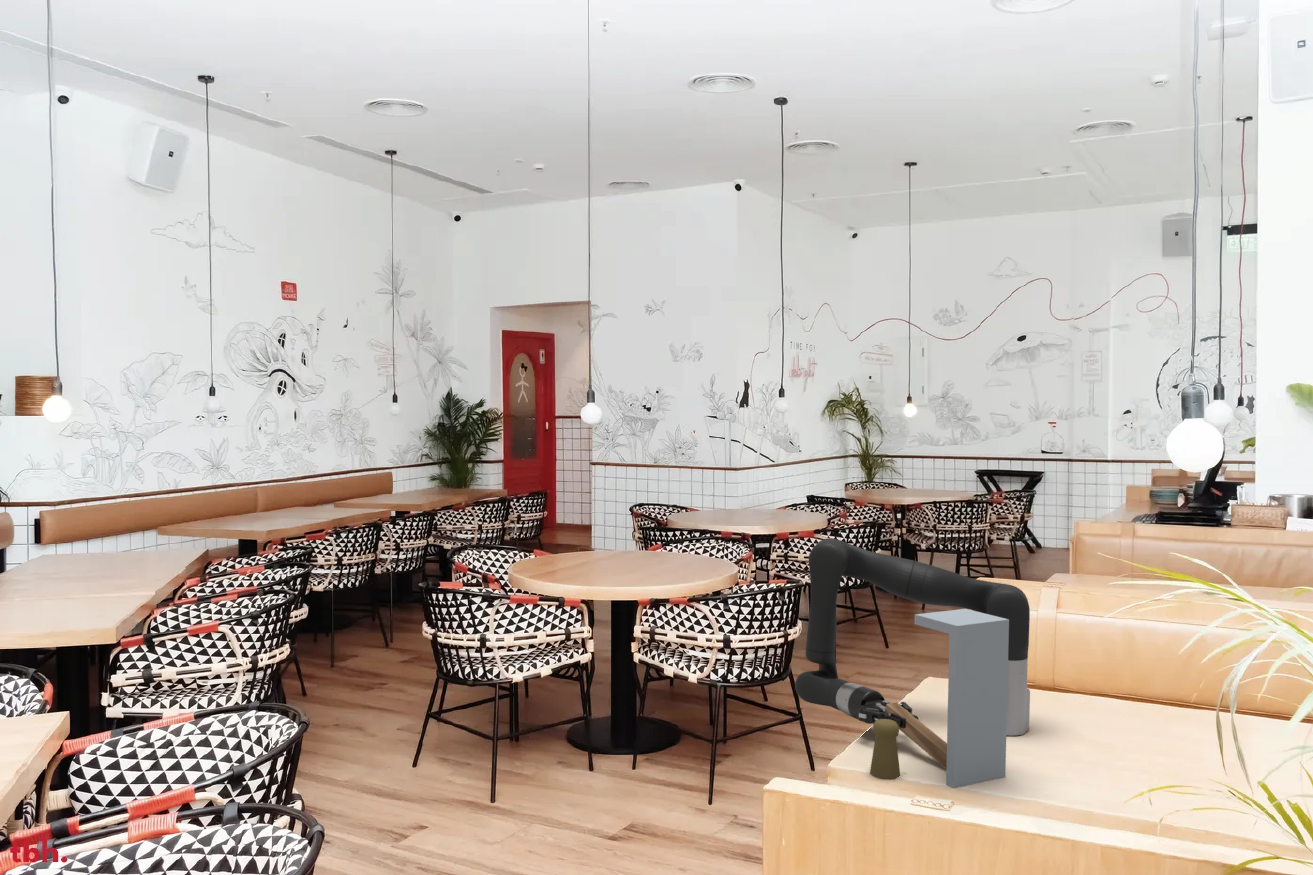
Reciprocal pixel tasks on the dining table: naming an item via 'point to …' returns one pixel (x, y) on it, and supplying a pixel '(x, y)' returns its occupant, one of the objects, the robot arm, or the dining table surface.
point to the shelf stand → (974, 693)
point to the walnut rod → (921, 734)
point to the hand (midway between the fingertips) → (910, 722)
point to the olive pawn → (885, 750)
